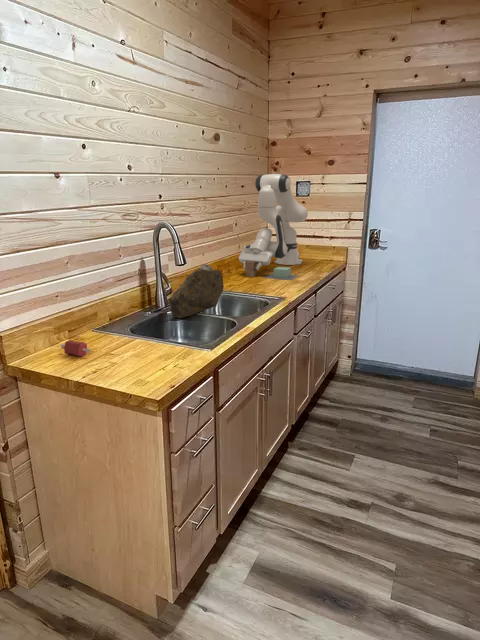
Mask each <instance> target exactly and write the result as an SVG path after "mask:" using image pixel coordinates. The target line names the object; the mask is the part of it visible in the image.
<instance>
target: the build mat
mask: <svg viewBox="0 0 480 640" xmlns="http://www.w3.org/2000/svg"><path fill="white" fill-rule="evenodd" d="M297 277H299V275H295V274H291V276H290V277H288V278H287V279H286V278H274V272H272V273H270V274H267V275H266V276H264V277H263V279H269V280H270V279H271V280H273V279H274V280H282V281H293V280H294V279H296V278H297Z"/></svg>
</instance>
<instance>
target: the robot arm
mask: <svg viewBox="0 0 480 640" xmlns="http://www.w3.org/2000/svg"><path fill="white" fill-rule="evenodd" d="M254 184H255V189H256V191H257V193H258V197H257V214H258V217H259V218H260V219H261V220H262V221H263V222H265V223H266V224H269V225H270V226H272V227H273V229H274V231H275V238H276V241H271V240H272V236H273V233H274V232H273V230H272V229H271V228H269V227H262V228H260V229H259V231H258V232H257V235H256V237H255V240H254V242H253V243H250V244H247V245H245V246H244V247H243V250H242V251H241V252H240V253H239V255H238V260H239V263H242V264H243V269H244V270H246V262H248V261H254V262H257V266H256V267H255V269H256V270H257V271H259V269H260V268H261V267H262V266H269V265H271V261H272V258H276V259H275V260H274V263H275V264H278V265H284V266H285V265H287V266H292V265H301V264H302V263H303V259H301V258H300V252H299V250H298V242H297V230H295V228H293V227H291V225H290V223H303V222H305V221H306V220H307V219H308V210H307V208H306V207H305V206H303V205H302V204H300V202H298V201H297V199H295V197H294V195H293V192H292V189H291V179H290V176H289V175H287V174H284V173H283V174H282V173H279V174H278V173H271V174H270V173H269V174H260V175H258V176H257V177H256V179H255V183H254Z"/></svg>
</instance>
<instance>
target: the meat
mask: <svg viewBox="0 0 480 640" xmlns="http://www.w3.org/2000/svg"><path fill="white" fill-rule="evenodd" d="M60 349H63V351H64V354H66V355H71V356H72V355H73V356H74V355H75V356H78V357H80V358H83V357H85V356H86V355H87V354H90V353H91V352H92V349H91V348H90V347H88V343H86V342H84V341H74V340H71V339H69V340H67V341H65V343H61V344H60Z"/></svg>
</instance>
